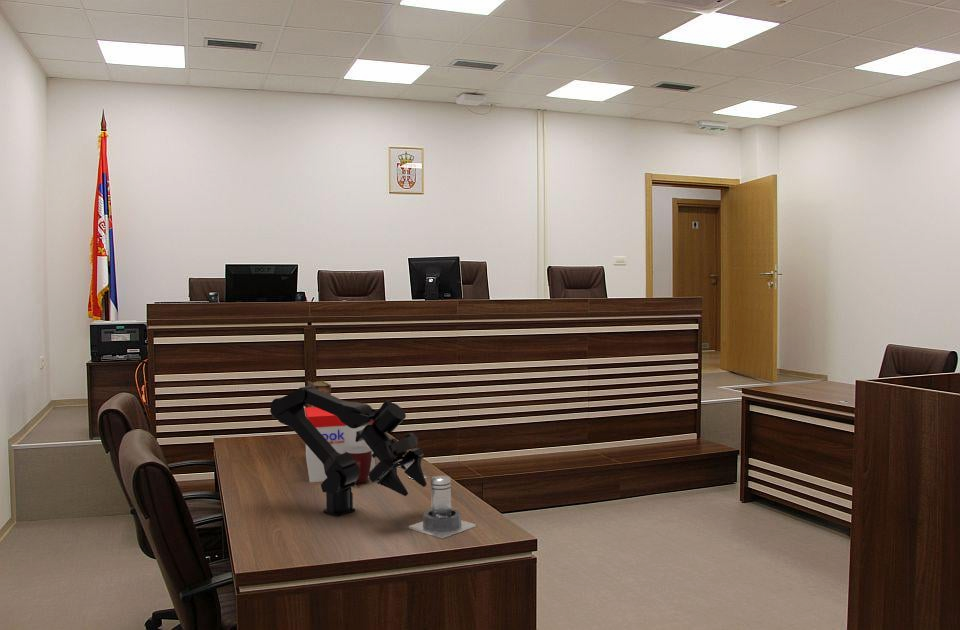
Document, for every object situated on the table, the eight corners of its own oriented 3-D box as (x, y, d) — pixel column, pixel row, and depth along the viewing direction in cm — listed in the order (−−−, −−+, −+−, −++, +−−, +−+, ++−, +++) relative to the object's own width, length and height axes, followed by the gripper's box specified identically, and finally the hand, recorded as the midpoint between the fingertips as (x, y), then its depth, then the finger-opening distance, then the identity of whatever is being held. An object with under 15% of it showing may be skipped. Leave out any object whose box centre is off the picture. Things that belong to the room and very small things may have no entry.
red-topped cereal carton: (309, 482, 236) (308, 417, 235) (305, 458, 270) (304, 400, 269) (375, 477, 241) (374, 413, 240) (363, 453, 275) (362, 397, 274)
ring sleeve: (441, 538, 183) (441, 524, 182) (408, 528, 191) (408, 514, 191) (475, 526, 191) (475, 512, 191) (442, 517, 200) (442, 503, 199)
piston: (436, 529, 188) (435, 481, 187) (428, 523, 192) (427, 477, 192) (455, 525, 190) (453, 478, 190) (446, 520, 195) (445, 474, 194)
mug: (374, 486, 230) (373, 454, 230) (347, 488, 228) (347, 456, 228) (370, 477, 241) (370, 447, 240) (345, 479, 239) (344, 448, 238)
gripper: (378, 430, 187) (416, 480, 183) (417, 418, 204) (453, 463, 200) (352, 458, 191) (389, 507, 187) (393, 444, 208) (427, 488, 204)
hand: (416, 490), depth 194 cm, fingers open, 9 cm apart
